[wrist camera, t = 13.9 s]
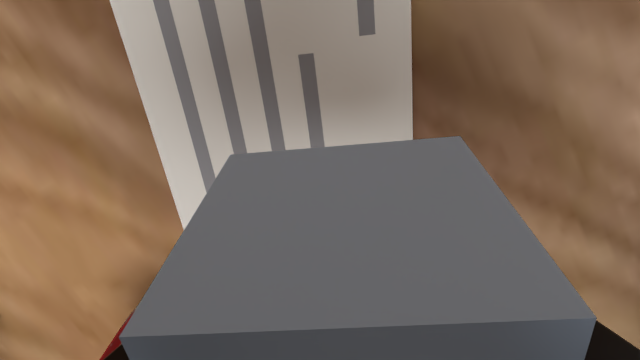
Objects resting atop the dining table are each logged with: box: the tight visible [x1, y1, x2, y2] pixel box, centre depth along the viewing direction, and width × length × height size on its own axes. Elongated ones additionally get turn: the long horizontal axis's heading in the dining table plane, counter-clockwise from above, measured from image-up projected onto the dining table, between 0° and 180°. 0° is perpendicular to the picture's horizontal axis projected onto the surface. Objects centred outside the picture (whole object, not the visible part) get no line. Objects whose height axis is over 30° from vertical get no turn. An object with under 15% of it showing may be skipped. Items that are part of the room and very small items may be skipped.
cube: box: [119, 136, 597, 360], centre depth 7 cm, size 5×5×5 cm
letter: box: [110, 0, 413, 230], centre depth 19 cm, size 13×17×1 cm
